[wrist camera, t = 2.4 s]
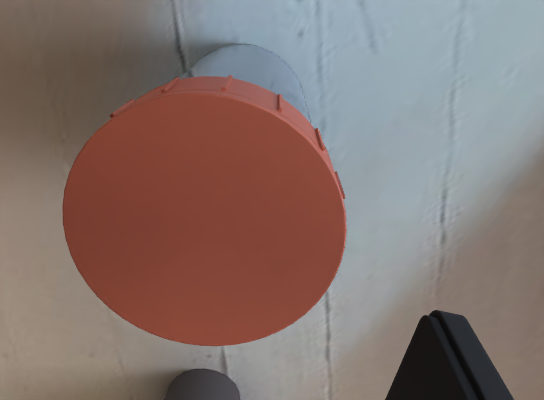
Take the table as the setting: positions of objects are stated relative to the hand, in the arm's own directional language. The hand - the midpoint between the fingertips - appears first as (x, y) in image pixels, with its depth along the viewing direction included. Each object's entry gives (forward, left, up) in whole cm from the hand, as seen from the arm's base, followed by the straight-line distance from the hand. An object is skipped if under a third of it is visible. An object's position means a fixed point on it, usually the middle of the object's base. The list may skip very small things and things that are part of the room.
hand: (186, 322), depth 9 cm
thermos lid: (0, 0, -4) cm, 4 cm away
